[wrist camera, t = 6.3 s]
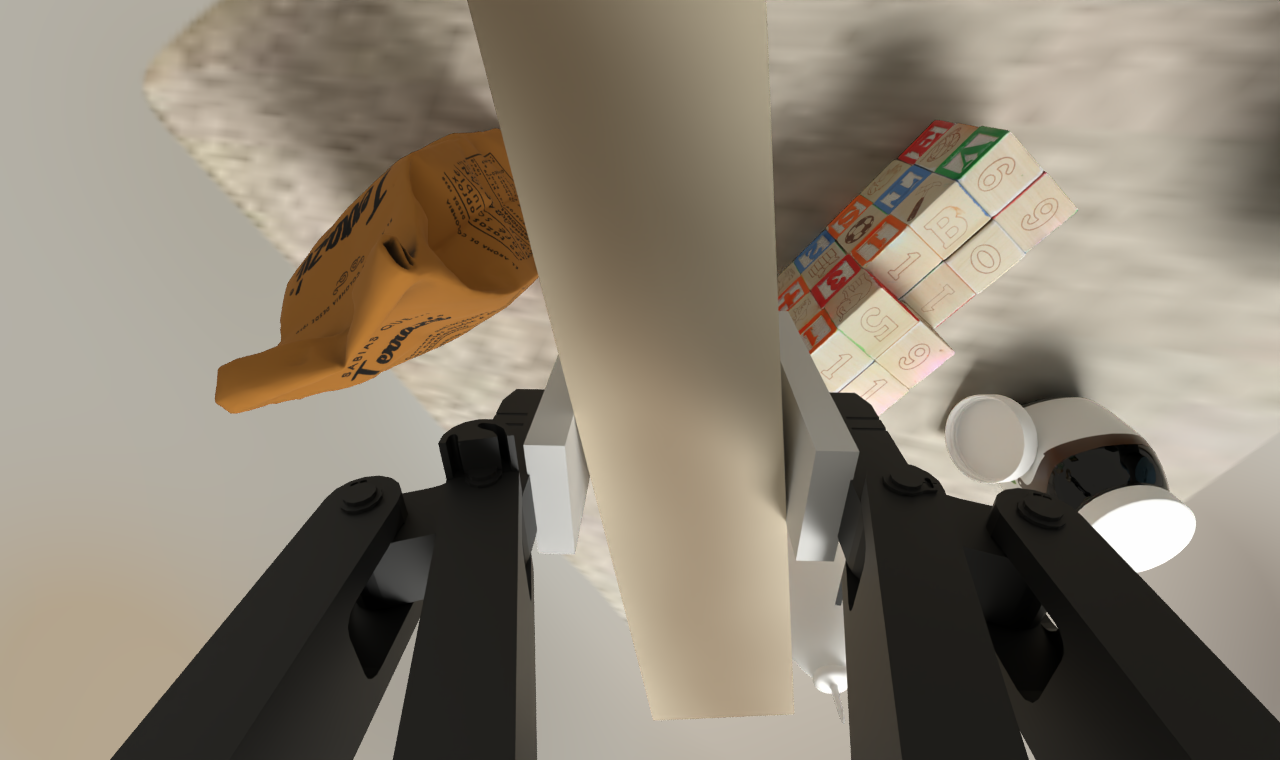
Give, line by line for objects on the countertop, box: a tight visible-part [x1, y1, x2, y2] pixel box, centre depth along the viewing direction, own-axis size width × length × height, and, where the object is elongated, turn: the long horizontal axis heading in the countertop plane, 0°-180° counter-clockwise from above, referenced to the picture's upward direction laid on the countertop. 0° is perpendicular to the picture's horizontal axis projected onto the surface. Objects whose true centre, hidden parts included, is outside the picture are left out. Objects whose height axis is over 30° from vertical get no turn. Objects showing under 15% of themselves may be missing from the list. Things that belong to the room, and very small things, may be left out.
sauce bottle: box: [787, 529, 847, 724], centre depth 44 cm, size 8×8×18 cm
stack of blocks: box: [777, 120, 1078, 417], centre depth 35 cm, size 21×6×12 cm, turn 141°
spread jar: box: [945, 394, 1196, 573], centre depth 41 cm, size 12×11×12 cm
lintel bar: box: [467, 0, 794, 721], centre depth 14 cm, size 4×18×6 cm, turn 9°
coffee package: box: [215, 128, 539, 413], centre depth 30 cm, size 10×12×22 cm
